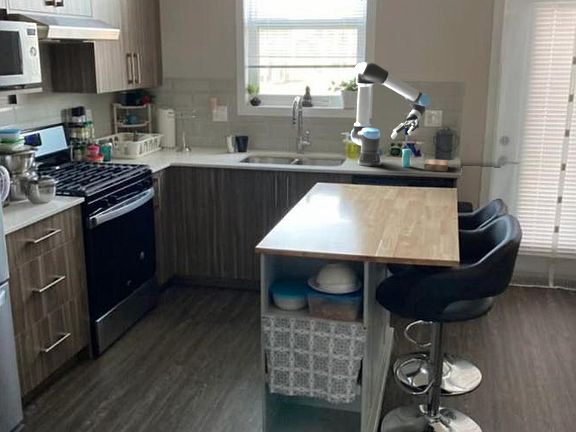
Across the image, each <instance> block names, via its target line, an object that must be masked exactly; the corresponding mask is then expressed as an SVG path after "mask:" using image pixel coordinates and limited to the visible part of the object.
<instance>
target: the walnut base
mask: <svg viewBox="0 0 576 432" xmlns="http://www.w3.org/2000/svg"><path fill="white" fill-rule="evenodd" d="M423 165H424V166H423V167H424V169H423V170H424V171H433V172H448V168H449V160H446V159H432V158H431V159H429V158H426V159H425V161H424V164H423Z"/></svg>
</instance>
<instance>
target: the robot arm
mask: <svg viewBox="0 0 576 432" xmlns="http://www.w3.org/2000/svg"><path fill="white" fill-rule="evenodd" d="M353 75H354V77H355V79H356V80H355V83H356V85H357V88H358V89H357V100H356V102H357V103H356V104H357V106H356V122H355V123H354V124H353V128H352V130H351V133H350V138H351V140H352V142H353V143H354V144H356V145H358V146H360V147H361V148H360V154H359V157H358V160H357V165H360V166H365V167H378V166H381V165H382V159H381V155H380V140H381V132H380V131H381V130H379V129H378V128H376V127H372V124H371V123H370V117H371V115H370V112H371V101H372V99H371V98H372V86H374V84H375V83H376V84H378V85H379V86H382V85H383V86H385V87H386V88H389V89H390V90H392V91H394V92H395V93H397V94H399V95H401V96H403V98H405V100H406V101H407V103H408V105H409V106H410V108H411V112H409V114H408V115H407V117H406V119H405V122H401V123H400V124H399V125H398V126H396V127H395V128H394V129H393V130H392V133H391V136H390V138H391V139H392V141H394V140H395V139H396V138H397V136H398V134H399V133H400V132H402V131H403V130H405V129H407V128H409V127H410V128H409V130H408V131H407V134H408V136H412V134H413V132H414V131H415V130H416V129H419V127H420V119H421V118H422V116H423V115H424V113H425V112H426V110H427V106H428V105H429V104H430V101H431V99H430V98H431V97H430V96H429V95H427V94H426V93H423V92H420V91H419V90H418V89H416V88H414V87H413V86H411V85H409V84H407V83H405V82H404V81H401V80H400V79H398V78H397V77H395V76H393V75H392V74H390V73H389V71H388V70H386V69H385V68H383V67H381V66H380V65H379V64H377V63H374V62H361V63H358V64H357V65H356V66H355V68H354V70H353Z"/></svg>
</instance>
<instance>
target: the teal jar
mask: <svg viewBox="0 0 576 432" xmlns="http://www.w3.org/2000/svg"><path fill="white" fill-rule="evenodd" d="M401 156H402V157H401V167H402V168H411V165H412V164H411V163H412V160H411V159H412V149H410V148H403V149H402V155H401Z"/></svg>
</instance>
